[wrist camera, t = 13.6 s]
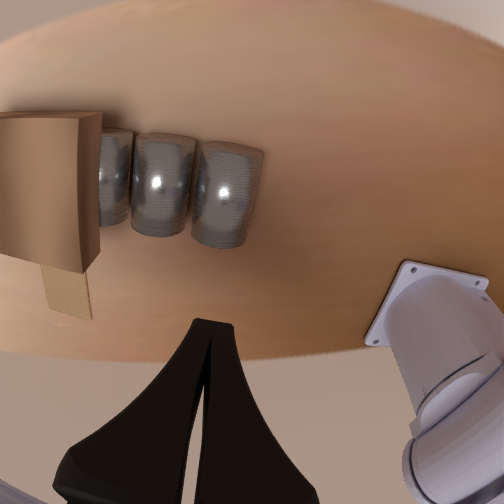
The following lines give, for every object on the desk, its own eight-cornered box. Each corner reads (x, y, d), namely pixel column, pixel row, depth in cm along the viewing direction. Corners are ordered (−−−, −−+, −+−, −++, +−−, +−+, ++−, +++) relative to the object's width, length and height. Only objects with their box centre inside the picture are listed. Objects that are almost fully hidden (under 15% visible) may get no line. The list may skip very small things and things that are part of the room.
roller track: (264, 143, 17) (265, 155, 15) (222, 346, 25) (219, 377, 22) (0, 121, 16) (-29, 130, 13) (23, 298, 24) (6, 320, 21)
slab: (102, 112, 13) (78, 118, 11) (100, 252, 17) (82, 274, 15) (-23, 114, 13) (-49, 122, 10) (-14, 227, 16) (-34, 243, 14)
